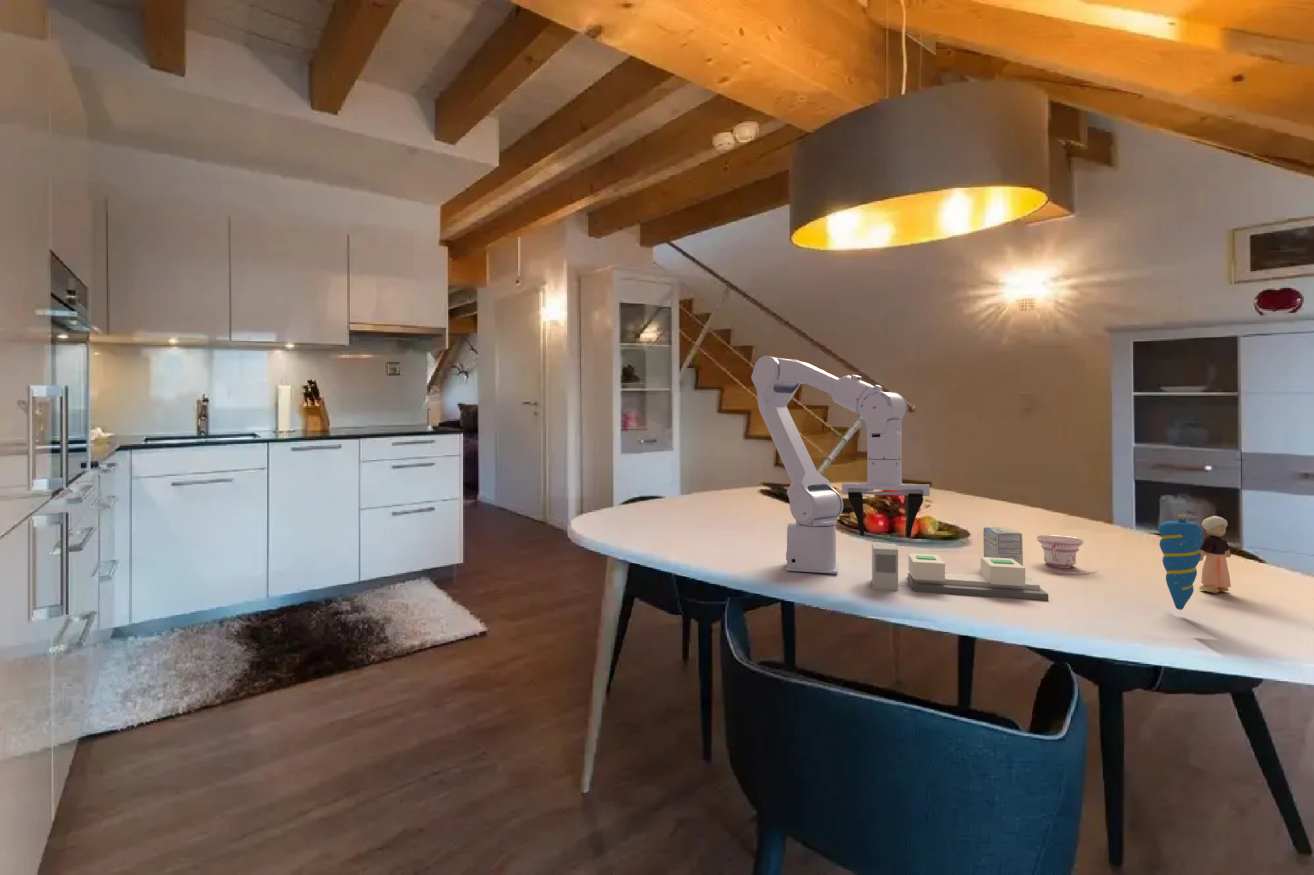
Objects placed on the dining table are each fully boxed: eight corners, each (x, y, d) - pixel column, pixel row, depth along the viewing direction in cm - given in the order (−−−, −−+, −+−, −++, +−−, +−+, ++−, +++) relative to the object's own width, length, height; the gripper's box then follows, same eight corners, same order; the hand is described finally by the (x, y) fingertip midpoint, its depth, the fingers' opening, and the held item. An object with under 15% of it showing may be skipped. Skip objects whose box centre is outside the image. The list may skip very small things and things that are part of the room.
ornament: (1149, 605, 93) (1149, 509, 93) (1179, 604, 94) (1179, 508, 94) (1181, 615, 88) (1181, 513, 88) (1213, 614, 89) (1213, 512, 89)
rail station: (913, 591, 102) (913, 561, 102) (907, 577, 112) (907, 551, 112) (1048, 600, 96) (1048, 569, 96) (1029, 585, 106) (1029, 557, 106)
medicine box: (1023, 580, 110) (1023, 533, 110) (997, 579, 111) (997, 532, 111) (1007, 571, 118) (1007, 526, 118) (983, 570, 119) (982, 526, 119)
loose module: (873, 588, 104) (873, 548, 104) (871, 580, 110) (871, 542, 110) (898, 590, 103) (898, 549, 103) (895, 582, 109) (895, 543, 109)
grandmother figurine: (1220, 595, 99) (1220, 518, 99) (1191, 589, 103) (1190, 516, 103) (1240, 589, 103) (1240, 515, 103) (1211, 584, 106) (1211, 513, 106)
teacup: (1034, 560, 128) (1034, 531, 128) (1103, 569, 120) (1103, 538, 120) (1018, 569, 120) (1018, 538, 120) (1091, 579, 111) (1090, 545, 111)
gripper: (841, 459, 105) (842, 537, 105) (932, 460, 100) (932, 541, 100) (841, 458, 112) (842, 531, 112) (926, 459, 107) (926, 534, 107)
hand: (884, 535), depth 106 cm, fingers open, 7 cm apart
